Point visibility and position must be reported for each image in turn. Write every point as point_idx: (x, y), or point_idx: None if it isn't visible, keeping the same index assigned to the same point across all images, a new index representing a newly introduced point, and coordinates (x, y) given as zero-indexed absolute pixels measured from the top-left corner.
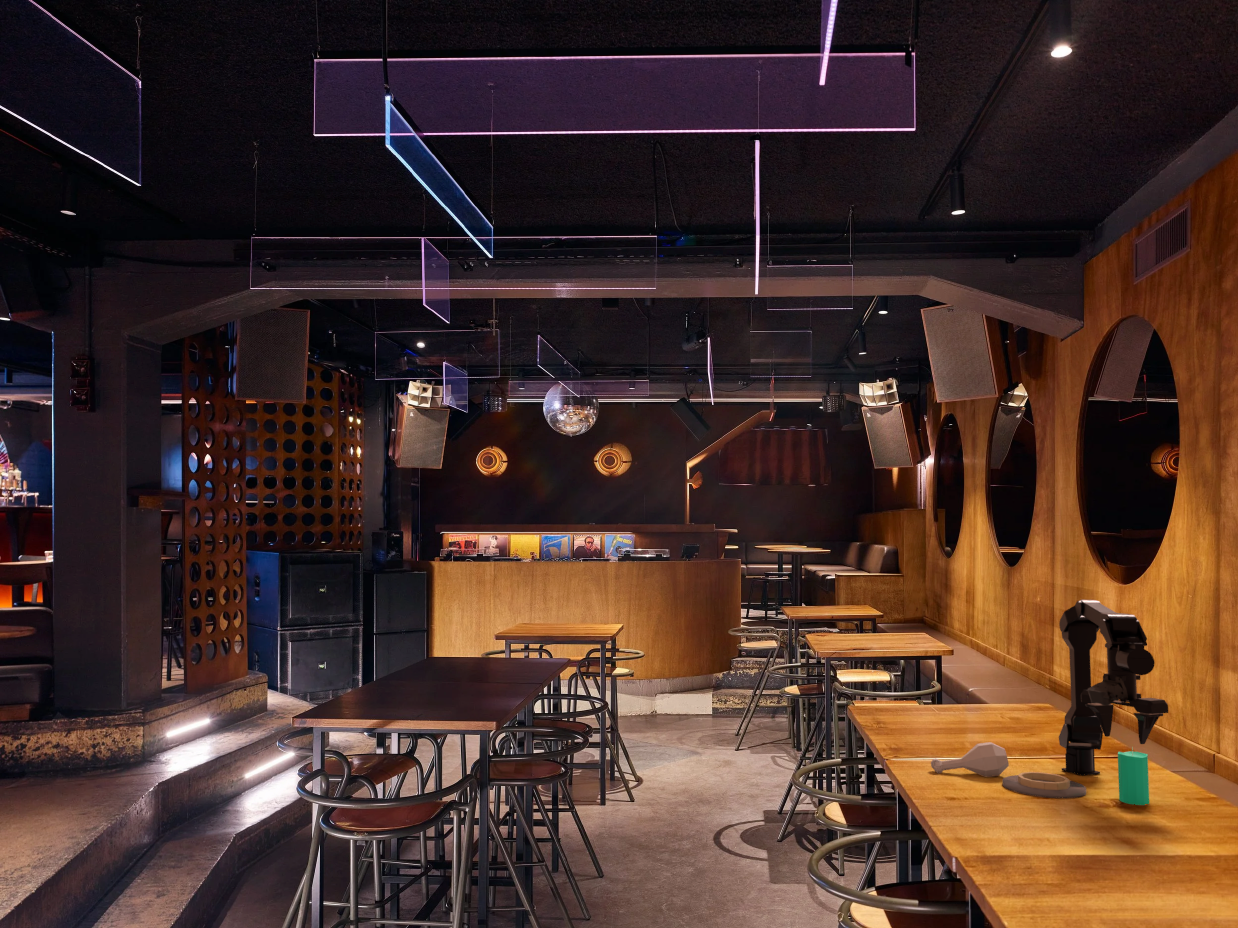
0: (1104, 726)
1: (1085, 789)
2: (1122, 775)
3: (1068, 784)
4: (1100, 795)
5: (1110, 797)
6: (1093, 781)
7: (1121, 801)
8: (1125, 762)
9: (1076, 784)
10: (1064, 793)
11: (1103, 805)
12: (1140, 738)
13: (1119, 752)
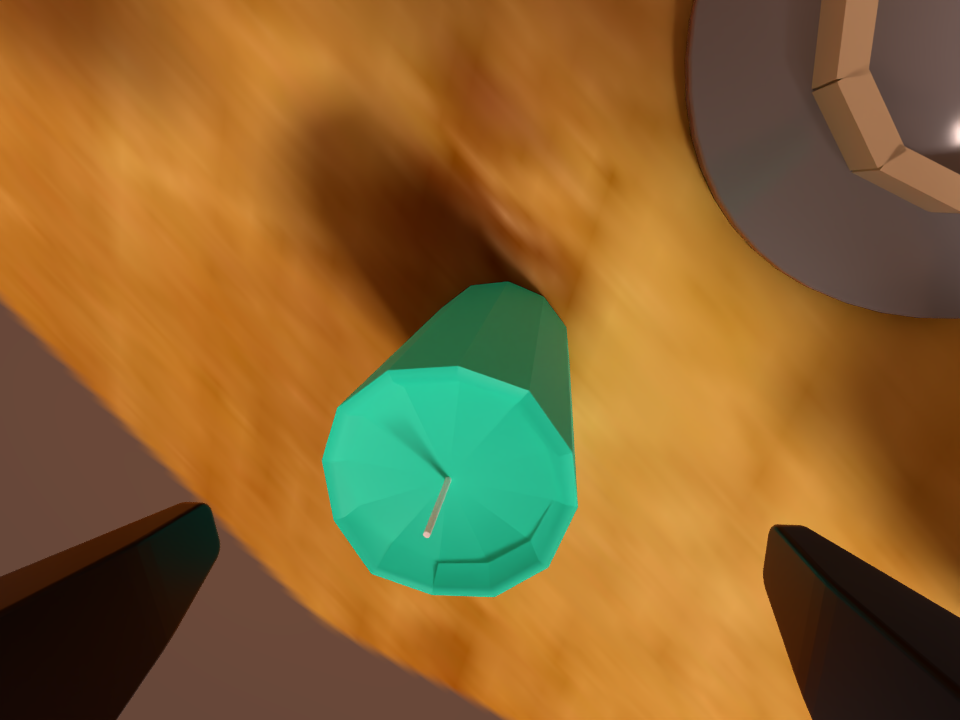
0: (884, 642)
1: (736, 215)
2: (479, 313)
3: (844, 133)
4: (664, 280)
5: (608, 299)
6: (924, 508)
7: (519, 286)
8: (428, 348)
9: (866, 267)
10: None
11: (481, 103)
12: (121, 532)
13: (551, 440)
